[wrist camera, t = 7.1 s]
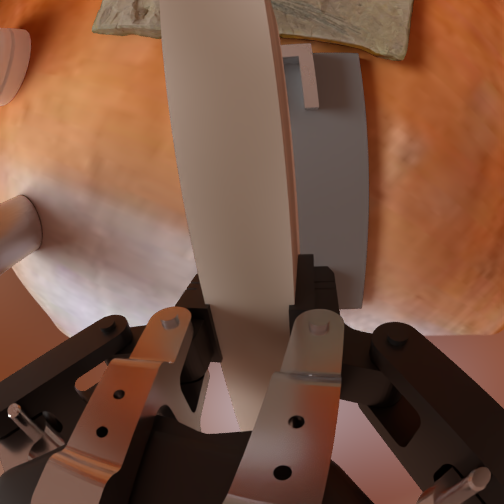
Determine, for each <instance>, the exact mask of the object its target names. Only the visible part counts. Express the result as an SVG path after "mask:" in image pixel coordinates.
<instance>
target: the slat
mask: <svg viewBox="0 0 504 504" xmlns="http://www.w3.org/2000/svg"><path fill="white" fill-rule="evenodd" d="M159 3H160V21H161V36H162V48H163V59H164V70H165V79H166V88H167V97H168V105H169V113H170V121H171V128H172V135H173V142H174V148H175V155H176V161H177V167H178V174H179V179H180V185H181V191H182V197H183V202H184V207H185V213H186V218H187V223H188V228H189V233H190V238H191V243H192V248H193V253H194V257H195V262H196V267H197V271H198V276H199V280H200V284H201V289H202V293H203V297H204V301H205V304H210V308H211V313H212V317H213V321H214V325H215V329H216V333H217V337H218V341H219V345H220V349H221V353H222V357H223V359H222V362H221V367H222V371H223V374H224V377H225V381H226V385H227V388H228V391H229V395H230V398H231V401H232V405H233V408H234V411H235V415H236V418H237V421H238V424H239V427H240V430H241V432H243V431H253V428H254V425H255V423H256V420H257V417H258V414H259V412H260V409H261V406H262V403H263V400H264V397H265V394H266V392H267V389H268V386H269V383H270V380H271V377H272V375H273V373H274V372H275V371H278V372H280V370H281V367H282V363H283V360H284V357H285V353H286V350H287V346H288V343H289V339H290V328H289V305H294V304H295V291H296V278H297V263H298V254H300V241H299V222H298V206H297V192H296V178H295V166H294V155H293V144H292V133H291V124H290V114H289V105H288V97H287V88H286V80H285V73H284V65H283V58H282V51H281V44H280V38H279V31H278V25H277V21H276V17H275V14H274V11H273V8H272V4H271V1H270V0H159Z"/></svg>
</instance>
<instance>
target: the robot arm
mask: <svg viewBox="0 0 504 504" xmlns="http://www.w3.org/2000/svg"><path fill="white" fill-rule="evenodd" d="M41 240H42V230H41V224H40V220H39V217H38V214H37V212H36V210H35V208H34V206H33V204H32V203H31V202H30V201H29V199H27V198H26V197H25V196H22V195H18V196H16V197H14V198H12V199H9V200H7V201H5V202H3V203H1V204H0V275H1V274H2V273H4V272H5V271H6V270H8V269H9V268H11V267H12V266H13V265H15V264H16V263H18V262H19V261H21V260H22V259H24V258H25V257H26V256H28V255H29V254H31V253H32V252H34V251H35V250H37V249H38V248H39V247H40V244H41ZM289 328H290V339H289V343H288V346H287V350H286V353H285V357H284V360H283V363H282V367H281V370H280V372H278V371H275V372H274V373H273V375H272V377H271V380H270V383H269V386H268V389H267V392H266V394H265V397H264V400H263V403H262V406H261V409H260V412H259V414H258V417H257V420H256V423H255V425H254V428H253V431H243V432H232V433H219V434H205V433H202V432H201V427H200V418H201V413H202V409H203V404H204V399H205V395H206V391H207V386H208V382H209V377H210V375H209V371H208V366H209V364H210V362H220V363H221V362H222V359H223V357H222V353H221V349H220V345H219V341H218V337H217V333H216V329H215V325H214V321H213V317H212V313H211V308H210V304H205V301H204V297H203V293H202V289H201V284H200V280H199V276H198V274H196V275H195V277H194V278H193V280H192V281H191V284H189V286H188V287H187V290H185V292H184V293H183V295H182V296H181V298H180V299H179V301H178V302H177V304H176V305H175V307H169V308H165V309H162V310H160V311H158V312H157V313H155V314H154V315H153V316H152V317H151V319H150V320H149V322H148V324H147V325H144V326H137V327H129V324H128V322H127V320H126V318H125V317H123V316H121V315H110V316H107V317H104V318H102V319H100V320H99V321H97V322H95V323H94V324H92V325H90V326H89V327H87V328H86V329H84V330H82V331H81V332H79V333H77V334H76V335H74V336H72V337H71V338H69V339H68V340H66V341H64V342H63V343H61V344H60V345H58V346H56V347H55V348H53V349H52V350H50V351H48V352H47V353H45V354H44V355H42V356H40V357H39V358H37V359H36V360H34V361H33V362H31V363H29V364H28V365H26V366H25V367H23V368H22V369H20V370H19V371H17V372H15V373H14V374H12V375H11V376H9V377H8V378H6V379H4V380H3V381H1V382H0V460H1V463H2V466H3V469H4V473H3V474H2V475H1V477H0V504H374V503H373V502H372V501H371V500H370V499H369V498H368V497H367V496H366V495H365V493H363V491H362V490H361V489H360V488H359V487H358V486H357V485H356V484H355V483H354V482H353V481H352V479H351V478H350V477H349V476H348V475H347V474H346V473H345V472H344V471H343V470H342V469H341V468H340V467H339V466H338V465H337V464H336V463H335V462H334V461H332V460H331V455H332V449H333V443H334V437H335V430H336V423H337V415H338V408H339V399H342V400H346V401H351V402H355V403H358V405H359V408H360V409H361V410H362V412H363V413H364V414H365V416H366V417H367V419H368V420H369V421H370V423H371V424H372V425H373V426H374V428H375V429H376V431H377V432H378V433H379V435H380V436H381V437H382V438H383V440H384V441H385V443H386V444H387V445H388V447H389V448H390V449H391V450H392V452H393V453H394V454H395V455H396V457H397V458H398V460H399V461H400V462H401V464H402V465H403V466H404V468H405V469H406V470H407V472H408V473H409V474H410V476H411V477H412V478H413V480H414V481H415V482H416V484H417V485H418V486H419V487H420V489H421V490H422V491H423V493H422V494H421V495H420V497H419V499H418V501H417V504H504V409H503V408H502V407H501V406H500V405H499V404H498V403H497V402H496V401H495V400H494V399H493V398H492V397H491V396H490V395H489V394H488V393H487V392H485V391H484V390H483V389H482V388H481V387H480V386H479V385H478V384H477V383H476V382H475V381H474V380H472V378H470V377H469V376H468V375H467V374H466V373H465V372H464V371H463V370H461V368H459V367H458V366H457V365H456V364H455V363H454V362H453V361H452V360H450V359H449V358H448V357H447V356H446V355H445V354H444V353H442V352H441V351H440V350H439V349H438V348H437V347H435V346H434V345H433V344H432V343H431V342H430V341H429V340H427V339H426V338H425V337H424V336H423V335H422V334H421V333H419V332H418V331H417V330H416V329H415V328H413V327H412V326H410V325H407V324H405V323H400V322H389V323H385V324H382V325H380V326H379V327H377V328H376V329H375V330H374V332H373V334H371V333H366V332H361V331H357V330H354V329H352V328H350V327H349V326H347V325H346V324H345V323H344V321H343V319H342V317H341V316H340V312H339V304H338V296H337V289H336V283H335V275H334V272H333V271H332V270H331V269H330V268H329V267H328V266H314V255H313V254H298V263H297V278H296V291H295V304H294V305H289ZM103 361H105V363H106V364H107V366H108V367H107V369H106V370H105V372H104V374H103V376H102V378H101V379H100V381H99V382H98V383H97V384H95V385H94V386H92V387H91V388H89V389H88V390H86V391H79V390H77V389H76V387H75V382H76V380H77V379H78V378H79V377H81V376H82V375H83V374H85V373H87V372H88V371H89V370H91V369H93V368H94V367H96V366H97V365H98V364H100V363H102V362H103Z"/></svg>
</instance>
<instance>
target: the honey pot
mask: <svg viewBox="0 0 504 504" xmlns="http://www.w3.org/2000/svg"><path fill="white" fill-rule="evenodd" d="M30 52H31V38H30V35H29V33H28V32H27V31H26V30H24V29H13V28H0V106H3V105H6V104H8V103H9V102H10V101H11V100H12V99H13V98H14V97H15V95H16V93H17V92H18V90H19V88H20V86H21V84H22V82H23V80H24V77H25V74H26V71H27V68H28V63H29V59H30Z"/></svg>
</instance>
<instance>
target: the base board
mask: <svg viewBox="0 0 504 504" xmlns="http://www.w3.org/2000/svg"><path fill="white" fill-rule="evenodd" d="M312 54H313V61H314V68H315V76H316V84H317V92H318V101H319V108H318V109H317V110H305V108H304V99H303V91H302V82H301V75H300V67H299V65H286V66H284V73H285V80H286V88H287V97H288V105H289V114H290V124H291V133H292V144H293V155H294V166H295V178H296V192H297V206H298V222H299V241H300V254H313V255H314V266H328V267H329V268H330V269H331V270H332V271H333V272H334V275H335V283H336V289H337V296H338V304H339V309H358V308H362V301H363V292H364V282H365V271H366V258H367V242H368V217H369V163H368V139H367V124H366V111H365V101H364V91H363V83H362V75H361V68H360V61H359V55H358V53H312Z"/></svg>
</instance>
